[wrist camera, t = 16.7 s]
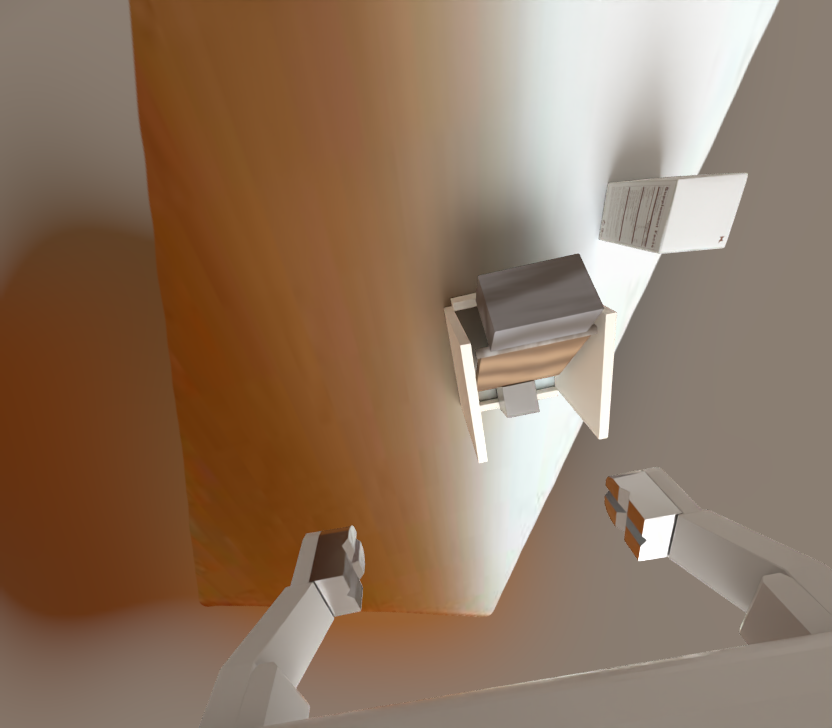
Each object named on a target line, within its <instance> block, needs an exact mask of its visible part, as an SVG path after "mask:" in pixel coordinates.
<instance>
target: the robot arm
mask: <svg viewBox="0 0 832 728" xmlns="http://www.w3.org/2000/svg"><path fill="white" fill-rule="evenodd" d="M606 486H607V488H608V489H609V491H608V492H607V493H606V495H605V506H606V510H607V513H608V515H609V517H610V519H611V521H612V522H613V524H614V525H615V526H616V527H617V528H619V529H621V530H622V531H624V532H625V538H624V540H625V542H626V543H627V545H628V546H629V548H630V549H631V551H632V552H633V554H634V555H635V557H636V558H637V560H638V561H642V560H648V559H655V558H662V557H669V559H670V560H672V561H673V562H675V563H676V564H678V565H679V566H680V567H682V568H683V569H685V570H686V571H688V572H689V573H690V574H692V575H693V576H695V577H696V578H698V579H699V580H700V581H702V582H703V583H705V584H706V585H707V586H709V587H710V588H712V589H713V590H715V591H716V592H718V593H719V594H720V595H722V596H723V597H724V598H726V599H727V600H729V601H730V602H732V603H733V604H734V605H736V606H737V607H739V608H740V609H742V610H743V611H744V612H746V615H745V618H744V620H743V622H742V625H741V627H740V631H739V634H740V635H741V637H742V638H743V639H744V641H745V642H746V643H747V644H748V645H745V646H739V647H733V648H727V649H721V650H715V651H709V652H703V653H697V654H691V655H685V656H679V657H673V658H667V659H662V660H655V661H650V662H643V663H637V664H632V665H625V666H619V667H613V668H607V669H602V670H596V671H589V672H583V673H578V674H572V675H566V676H560V677H553V678H548V679H541V680H535V681H529V682H523V683H518V684H512V685H506V686H500V687H494V688H488V689H482V690H476V691H470V692H464V693H458V694H452V695H446V696H440V697H434V698H428V699H422V700H416V701H410V702H404V703H398V704H392V705H386V706H380V707H374V708H368V709H363V710H356V711H351V712H345V713H339V714H333V715H327V716H321V717H315V718H309V719H308V717H309V710H310V706H309V704H308V702H307V701H306V699H305V698H304V697H303V696H302V695H301V694H300V692H299V691H298V690H297V689H296V687H297V686H298V684H299V682H300V680H301V678H302V676H303V675H304V673H305V671H306V669H307V667H308V665H309V664H310V662H311V660H312V658H313V656H314V655H315V653H316V651H317V649H318V647H319V645H320V644H321V641H322V640H323V638H324V636H325V634H326V632H327V631H328V629H329V627H330V625H331V623H332V622H333V620H334V617H335V616H340V615H344V614H349V613H354V612H358V611H361V605H362V593H363V587H362V585H361V582H360V578H361V577H362V575H363V574H364V567H365V560H364V551H363V547H362V544H361V542H360V541H359V540H357V539H356V531H355V529H354V526H349V527H343V528H337V529H331V530H324V531H319V532H313V533H308V534H306V535H305V537H304V539H303V542H302V545H301V549H300V553H299V557H298V560H297V564H296V568H295V572H294V575H293V579H292V583H291V586H290V587H286V588H285V589H284V590H283V592H282V593H281V594H280V595H279V597H278V598H277V599H276V600H275V602H274V603H273V604H272V605H271V607H270V608H269V609H268V610H267V612H266V613H265V614H264V615H263V617H262V618H261V619H260V620H259V622H258V623H257V624H256V625H255V627H254V628H253V629H252V630H251V632H250V633H249V634H248V635H247V637H246V638H245V639H244V640H243V642H242V643H241V644H240V645H239V647H238V648H237V649H236V650H235V652H234V653H233V654H232V655H231V657H230V658H229V659H228V660H227V662H226V663H225V664H224V665H223V667H222V668H221V669H220V671H219V674H218V677H217V680H216V682H215V685H214V688H213V690H212V693H211V696H210V699H209V701H208V704H207V707H206V709H205V712H204V715H203V717H202V720H201V723H200V726H199V728H832V570H831V569H830V568H829V567H828V566H826V565H825V564H824V563H822V562H820V561H817V560H815V559H813V558H811V557H809V556H807V555H805V554H802V553H800V552H798V551H796V550H794V549H792V548H790V547H787V546H785V545H783V544H781V543H779V542H776V541H774V540H772V539H770V538H768V537H766V536H764V535H762V534H760V533H757V532H755V531H753V530H751V529H749V528H747V527H745V526H742V525H740V524H738V523H736V522H734V521H732V520H730V519H727V518H725V517H723V516H721V515H719V514H716V513H715V512H713V511H710V510H708V509H707V510H702V509H701V508H700V507H699V506H698V505H697V504H696V503H695V502H694V501H693V500H692V499H691V498H690V497H689V496H688V495H687V494H686V493H685V492H684V491H683V490H682V489H681V488H680V487H679V486H678V485H677V484H676V483H675V482H674V481H673V480H672V479H671V478H670V477H669V476H668V475H667V474H666V473H665V471H664V470H663V469H661V468H659V467H654V468H649V469H644V470H637V471H632V472H627V473H623V474H617V475H613V476H608V477H607V479H606Z"/></svg>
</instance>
